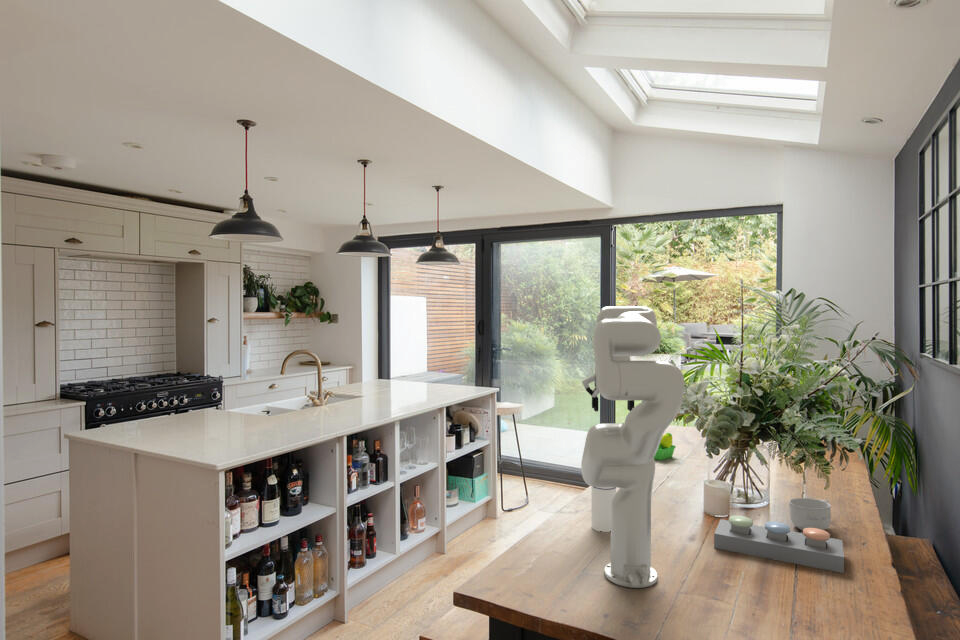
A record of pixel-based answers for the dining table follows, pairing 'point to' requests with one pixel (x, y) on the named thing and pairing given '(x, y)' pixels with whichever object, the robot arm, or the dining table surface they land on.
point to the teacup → (810, 513)
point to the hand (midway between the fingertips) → (612, 410)
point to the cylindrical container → (602, 508)
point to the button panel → (780, 547)
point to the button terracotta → (816, 537)
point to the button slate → (777, 530)
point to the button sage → (740, 524)
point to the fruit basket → (665, 447)
